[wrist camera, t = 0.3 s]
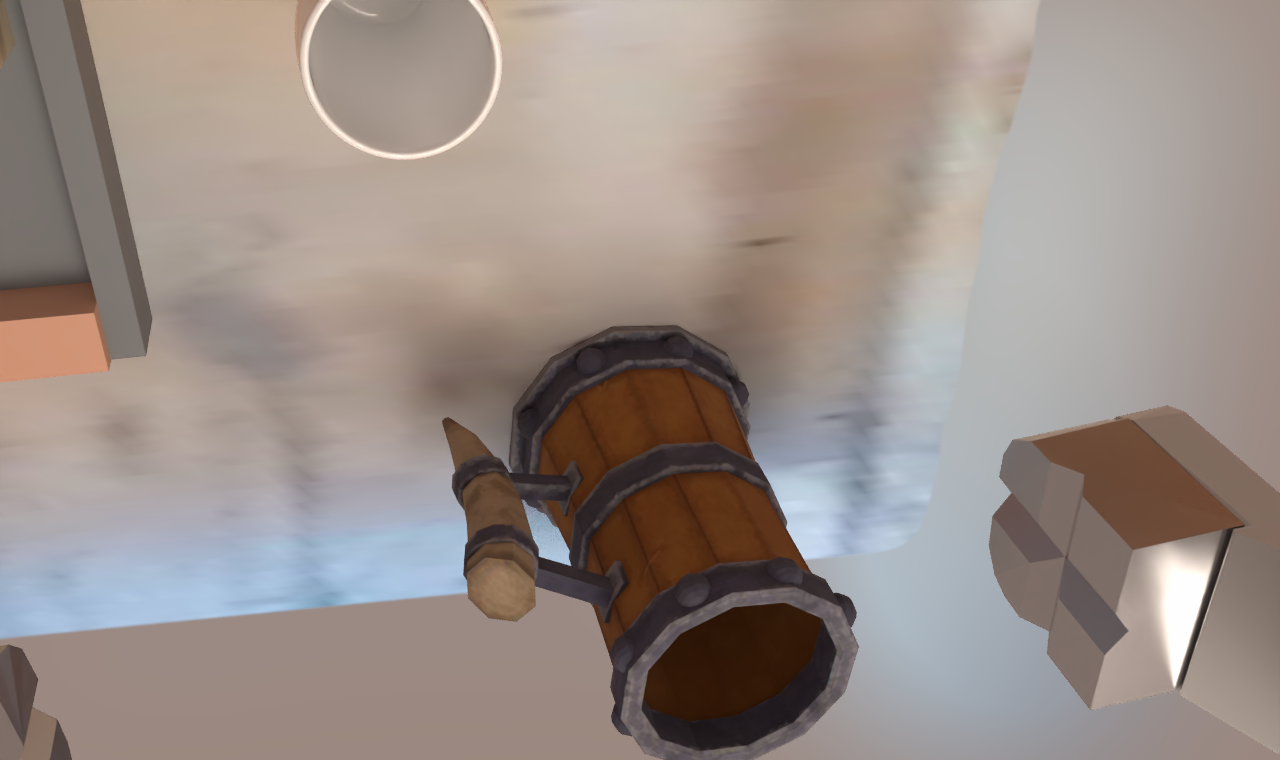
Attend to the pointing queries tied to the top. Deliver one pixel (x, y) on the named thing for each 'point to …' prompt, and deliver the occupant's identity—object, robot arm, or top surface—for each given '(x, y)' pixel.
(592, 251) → the top surface
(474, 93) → the white tumbler
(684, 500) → the mug
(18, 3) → the guide channel
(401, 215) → the top surface
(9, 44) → the block
